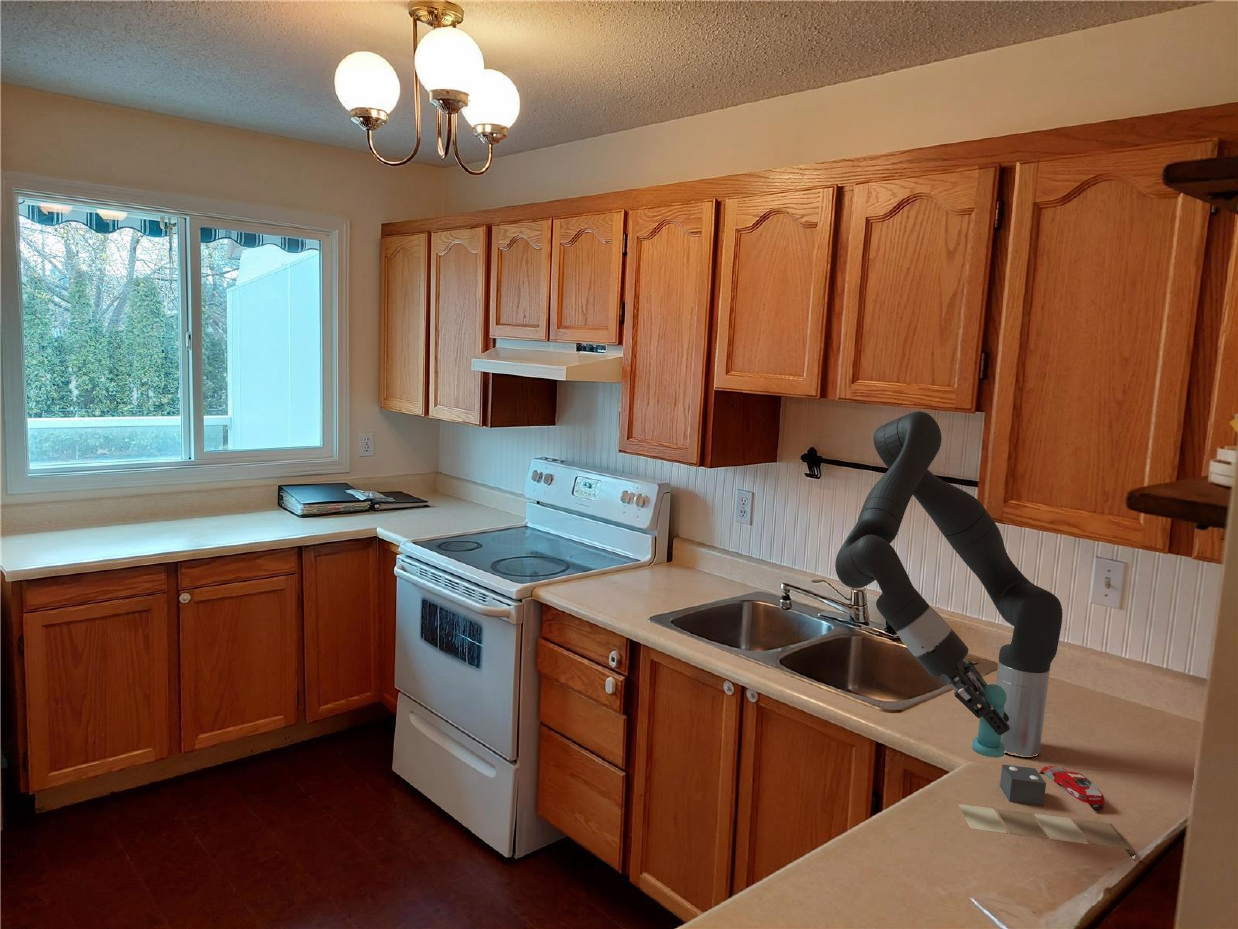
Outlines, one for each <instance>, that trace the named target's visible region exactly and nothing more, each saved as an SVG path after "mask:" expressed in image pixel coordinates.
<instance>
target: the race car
mask: <svg viewBox="0 0 1238 929" xmlns="http://www.w3.org/2000/svg"><path fill="white" fill-rule="evenodd" d="M1038 773H1039V774H1040V775H1045V776H1046V777H1047V778H1048V779H1050V780H1051V781H1052V782H1054V783H1056V784H1057V785H1058V786H1059V787H1060V788H1062V789H1063V790H1064V791H1066V792H1067V793H1068V794H1070V795H1071V796H1072V797H1073V798H1075V799H1076V800H1079V801H1080V802H1081V803H1082V802H1083V803H1085V804H1088V806H1090V808H1091V809H1094V810H1096V809H1097V810H1098V809H1100V810H1101V809H1104V808H1105V803H1106V802H1105V797H1104V794H1103V793H1102V791H1101V790H1100V789H1098V788H1097V786H1096V785H1095V784H1094V783H1093V781H1091V780H1090V779H1088V778H1087V776H1085V775H1083V774H1081V773H1080V772H1078V771H1077V772H1076V771H1073V770H1072V771H1070V770H1068V769H1066V768H1063V767H1059V766H1053V765H1048V766H1044V767H1043V768H1041V769H1040V771H1039V772H1038Z"/></svg>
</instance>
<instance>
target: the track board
mask: <svg viewBox="0 0 1238 929" xmlns="http://www.w3.org/2000/svg"><path fill="white" fill-rule="evenodd" d="M958 807H959V808H960V810H961V813H962V815H963V817H964V819H965V821H966V822H967V824H968V826H969V829H970V830H977V831H985V832H993V833H1001V834H1010V835H1015V836H1023V837H1032V838H1039V839H1045V840H1048V838H1049V839H1050V840H1053V841H1062V842H1067V843H1068V842H1069V843H1075V844H1085V845H1089V843H1090V845H1092V846H1098V847H1107V848H1114V849H1121V850H1122V849H1123V850H1125V852H1126V853H1127V854H1128V856H1129V857H1130V858H1131V857H1132V856H1134V855H1136V856H1137V853H1136V852H1135V850H1134V849H1133V848H1132V847H1131V845H1130V844H1129V843H1128V842H1127V841H1126V839H1125V838H1124V837H1123V836H1122V834H1121V833H1120V832H1119V831H1118V830H1117V828H1116V827H1115V826H1114V825H1113V823H1108V822H1103V821H1094V820H1085V819H1079V818H1072V819H1071V818H1070V817H1065V816H1064V817H1063V816H1054V815H1047V814H1039V813H1034V815H1033V814H1032V813H1030V812H1024V811H1023V812H1022V811H1016V810H1010V809H1009V810H1007V809H999V808H995V809H994V808H992V807H985V806H977V805H976V806H975V805H969V804H963V803H962V804H960V803H958ZM996 811H997V812H996ZM1034 816H1035V817H1034ZM1001 820H1002V821H1001ZM1073 821H1074V822H1073ZM1002 822H1003V823H1002ZM1040 825H1041V826H1040ZM1004 826H1005V827H1006V828H1005V827H1004ZM1041 827H1042V828H1043V829H1042V828H1041ZM1077 827H1078V828H1079V829H1078V828H1077ZM1006 829H1007V830H1006ZM1007 831H1008V832H1007ZM1044 831H1045V832H1044ZM1045 833H1046V834H1045ZM1084 836H1085V837H1084Z"/></svg>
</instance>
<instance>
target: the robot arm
mask: <svg viewBox="0 0 1238 929" xmlns="http://www.w3.org/2000/svg"><path fill="white" fill-rule="evenodd" d="M872 439H873V446H874V449H875V451H876V452H877V455H878V456H879V458H880V460H881V461H882V463H883V464H884V465H885V466H886V468H887V469H888V470H887V471H886V472H885V473H884V474H883V475H882V476H881V478H880V479H879V480H878V481H877V482H876V483H875V484H874V486H873V487H872V488H871V490H870V491H869V493H868V494H867V496H866V497H865V501H864V502H863V505H862V508H861V511H860V513H859V516H858V518H857V521H856V524H855V525H854V527H853V528H852V529H851V531H850V533H849V534H848V535H847V537H846V538H845V541H843V544H842V545H841V547H840V548H839V550H838V552H837V555H836V558H835V563H834V567H835V573H836V576H837V578H838V579H839V581H840V582H841V583H842V585H845V586H846V587H848V588H852V589H861V588H865V587H867V586H869V585H871V584H872V583H874V582H875V581H876V583H877V585H878V587H879V589H880V591H881V594H880V595H879V596H878V597H877V600H876V602H875V606H876V609H877V611H878V612H879V614H881V616H882V617H883V618H884V619H885V621H887V623H888V624H889V626H890V627H891V628H892V629H893V630H894V631H895V634H897V635H898V637H899V639H900V640H901V641H902V643H903V644H904V645H905V647H906V648H907V650H908V651H909V652H910V653H911V655H913V656H914V658H915V659H916V660H917V661H918V663H920V664H921V666H922V667H923V669H925V671H926V672H927V673H928V674H929V676H930V677H933V678H935V677H936V678H937V677H940V676H943V675H945V676H946V677H947V679H948V681H949V682H948V685H949V686H950V687H951V688H952V690H954V692H953V695H954V697H955V698H956V699H957V700H958V701H959V702H960V703H962V705H964V707H966V709H968V710H969V711H970V712H971V713H972V714H973V715H974V716H975V717H976V718H977V719H980V717H983V718H984V719H985V720H986V721H987V723H988V724H989V725H990V726H991V727H992V728H993V730H994V731H995V732H996V733H997V734H998V735H1001V743H1003V744H1004V746H1005V750H1006V751H1007V752H1010V753H1016V754H1018V755H1023V756H1033V755H1036V754H1038V753H1039V752H1041V746H1042V736H1043V730H1044V721H1045V713H1046V712H1045V711H1046V706H1047V696H1048V687H1049V679H1050V672H1051V671H1050V670H1051V664H1052V662H1053V660H1054V659H1055V657H1056V655H1057V653H1058V648H1059V642H1060V637H1061V630H1062V625H1063V607H1062V603H1061V601H1060V599H1059V598H1058V597H1057V596H1056V595H1055V594H1054V593H1052V592H1050V591H1049V590H1046V589H1044V588H1043V587H1041V586H1038V585H1037V584H1036V585H1035V584H1034V583H1033V582H1031V581H1030V580H1029V579H1028V578H1027V577H1026V576H1025V575H1024V574H1023V573H1022V572H1021V571H1020V570H1019V569H1018V567H1017V566H1016V565H1015V563H1014V562H1013V561H1012V560H1011V558H1010V556H1009V555H1008V552H1007V549H1006V546H1005V543H1004V540H1003V536H1002V534H1001V531H1000V529H999V526H998V525H997V523H996V521H994V519H993V517H992V516H991V515H990V514H989V512H988V510H987V509H986V508H985V507H984V505H983V504H982V503H981V501H980V500H978V498H976V497H975V496H974V495H972V494H970V493H968V492H967V491H965V490H963V489H961V488H960V487H957V486H955V485H953V484H951V483H949V482H946V481H945V480H943V479H941V478H939V477H938V476H937V475H935V474H934V473H933V472H931V471H930V470H929V467H930V466H931V464H932V463H933V461H934V459H935V458H936V456H937V455H938V453H939V451H940V448H941V445H942V431H941V429H940V426H939V423H938V422H937V420H936V419H935V418H934V417H933V416H932V415H931V414H929V413H927V412H925V411H914V412H909V413H907V414H905V415H902V416H900V417H899V418H896V419H893V420H891V421H889V422H887V423H884V424H883V425H880V426H879V427H878V428H876V430H875V431H874V433H873V438H872ZM912 496H913V497H914V499H916V501H917V502H918V503H919V504H920V506H921V507H922V508H923V509H924V510H925V512H926V513H927V514H928V516H929V517H930V518H931V520H932V521H933V522H934V524H935V525H936V527H937V528H938V530H939V532H940V533H941V534H942V535H943V537H944V538H945V539H946V541H947V542H948V543H949V544H950V546H951V548H952V549H953V550H954V551H955V553H956V554H958V557H960V558H961V560H962V561H963V562H964V564H966V566H967V567H968V568H969V569H970V571H971V572H972V573H974V575H975V576H976V577H977V578H978V580H979V582H980V583H981V584H982V586H983V588H984V589H985V590H986V592H987V594H988V596H989V597H990V599H991V601H992V603H993V604H994V607H995V609H997V612H998V613H999V615H1000V616H1001V617H1002V618H1003V619H1004V621H1005V622H1006V623H1008V624H1009V625H1011V626H1012V627H1013V632H1012V637H1011V642H1010V643H1009V644H1004V645H1002V646H1001V647H1000V648H999V653H998V654H999V655H998V662H997V670H996V671H997V672H996V680H995V685H998V686H1000V687H1002V688H1003V689H1004V691H1005V692H1006V696H1007V700H1006V703H1005V704H1004V715H1003V718H1002V716H1001V715H1000V714H999V713H998V712H997V711H996V709H995V708H994V706H993V705H992V704H991V703H990V702H989V700H988V699H987V698H986V691H985V690H984V689H983V688H984V687H985V686H987V685H988V682H986V681H985V679H984V678H983V676H982V675H981V674H980V672H979V670H977V668H976V667H975V665H974V663H973V662H972V661H971V660H967V661H965V660H964V659H965V658H967V655H968V653H969V647H968V645H966V644H965V643H964V641H963V640H962V639H961V638H960V636H959V635H958V634H957V633H956V632H955V631H954V630H953V628H952V627H951V626H950V625H949V624H948V623H947V622H946V620H945V619H944V618H943V617H942V616H941V615H940V614H939V612H937V611H936V610H935V609H933V607H932V606H931V605H929V603H928V602H927V600H926V599H925V598H924V597H923V596H922V595H921V593H919V592H918V590H917V589H916V588H915V587H914V585H913V583H912V581H911V578H910V577H909V575H908V572H907V571H906V569H905V567H904V565H903V563H902V561H901V559H900V557H899V555H898V553H897V552H896V550H895V548H894V547H893V546H892V545H891V544H892V543H893V541H895V539H896V538H897V535H898V534H899V533H898V532H899V531H900V527H901V524H902V521H903V519H904V516H905V513H906V510H907V508H908V505H909V503H910V501H911V499H912ZM981 705H982V707H981ZM979 706H980V707H979Z"/></svg>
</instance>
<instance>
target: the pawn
mask: <svg viewBox="0 0 1238 929" xmlns="http://www.w3.org/2000/svg"><path fill="white" fill-rule="evenodd" d="M983 689H984V690H985V691H986V698H987V699H988V700H989V702H990V703H991V704H992V705H993V706H994V708H995V709H996V711H997V712H998V713H999V714H1000V715H1001V716H1002V718H1003V715H1004V704H1005V703H1006V700H1007V696H1006V692H1005V691H1004V689H1003V688H1002V687H1000V686H998V685H996V683H991V684H990V683H989V684H987V686H985V687H984V688H983ZM980 707H982V705H980ZM978 721H979V722H978V731H977V732H978V733H977V737H974V738H973V739H972V744H971V749H972V750H973V751H974V752H975V753H977V754H978V755H981V756H984V757H987V758H995V759H997V758H1002V757H1004V755H1005V753H1004V751H1005V746H1004V744H1003V743H1001V735H998V734H997V733H996V732H995V731H994V730H993V728H992V727H991V726H990V725H989V724H988V723H987V721H986V720H985V719H984V718H983V717H980V718H979V720H978Z"/></svg>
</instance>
